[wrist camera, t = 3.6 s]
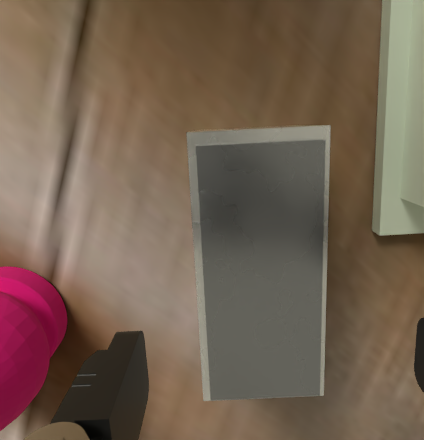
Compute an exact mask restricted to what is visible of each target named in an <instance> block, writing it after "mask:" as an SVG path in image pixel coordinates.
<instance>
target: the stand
mask: <svg viewBox="0 0 424 440" xmlns="http://www.w3.org/2000/svg"><path fill="white" fill-rule="evenodd" d="M372 231H373V232H375V233H376V234H378V235H379V236H381V235H398V234H416V233H424V0H382V17H381V39H380V62H379V84H378V107H377V129H376V151H375V174H374V196H373V218H372Z"/></svg>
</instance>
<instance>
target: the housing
mask: <svg viewBox="0 0 424 440" xmlns="http://www.w3.org/2000/svg"><path fill="white" fill-rule="evenodd" d="M330 127H331V125H291V126H271V127H251V128H231V129H211V130H193V131H190V132H187V149H188V165H189V180H190V196H191V212H192V228H193V243H194V259H195V275H196V291H197V306H198V322H199V338H200V354H201V369H202V385H203V401H216V400H238V399H261V398H283V397H306V396H324V367H325V327H326V287H327V247H328V207H329V167H330Z"/></svg>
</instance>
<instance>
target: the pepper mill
mask: <svg viewBox="0 0 424 440" xmlns="http://www.w3.org/2000/svg"><path fill="white" fill-rule="evenodd" d="M66 328H67V312H66V308H65V305H64V303H63V300H62V298H61V296H60V295H59V293H58V292H57V291H56V289H55V288H54V287H53V286H52V285H51V284H50V283H49V282H48V281H46V280H45V279H44V278H43V277H41V276H39V275H37V274H36V273H34V272H32V271H29V270H26V269H22V268H18V267H0V431H1V430H2V429H4V428H5V427H6V426H7V425H9V424H10V423H11V422H12V421H13V420H15V419H16V418H17V417H18V416H19V415H20V414H21V413H22V412H23V411H24V410H25V409H26V407H27V406H28V405H29V404H30V403H31V401H32V400H33V399H34V398H35V396H36V395H37V394H38V393H39V391H40V389H41V387H42V386H43V384H44V381H45V379H46V376H47V372H48V368H49V360H50V358H51V356H52V355H53V353H54V352H55V351H56V349H57V348H58V346H59V345H60V343H61V342H62V340H63V338H64V335H65V332H66Z"/></svg>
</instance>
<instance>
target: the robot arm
mask: <svg viewBox="0 0 424 440" xmlns="http://www.w3.org/2000/svg"><path fill="white" fill-rule="evenodd" d="M414 371H415V376H416V380H417V382H418V385H419V387H420V388H421V390H422V391H423V392H424V318H421V319H420V320H419V322H418V325H417V335H416V349H415V362H414ZM148 391H149V379H148V369H147V359H146V350H145V340H144V334H143V332H142V331H128V332H116V334H115V335H114V338H113V340H112V342H111V344H110V346H109V348H108V350H97V351H96V352H95V353H94V354H93V355H91V356H90V357H89V358H88V359H87V360H86V361H84V363H83V365H82V367H81V369H80V370H79V372H78V374H77V377H76V378H75V379H74V381H73V383H72V387H70V388H69V390H68V392H67V394H66V396H65V398H64V399H63V401H62V403H61V405H60V407H59V408H58V410H57V412H56V414H55V416H54V417H53V419H52V421H51V423H50V424H49V425H46V426H44V427H41V428H39V429H37V430H36V431H34V432H32V433H31V434H29V435H28V436H27V437H26V438H25V439H24V440H138V438H139V434H140V430H141V426H142V421H143V417H144V413H145V409H146V405H147V400H148Z"/></svg>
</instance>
